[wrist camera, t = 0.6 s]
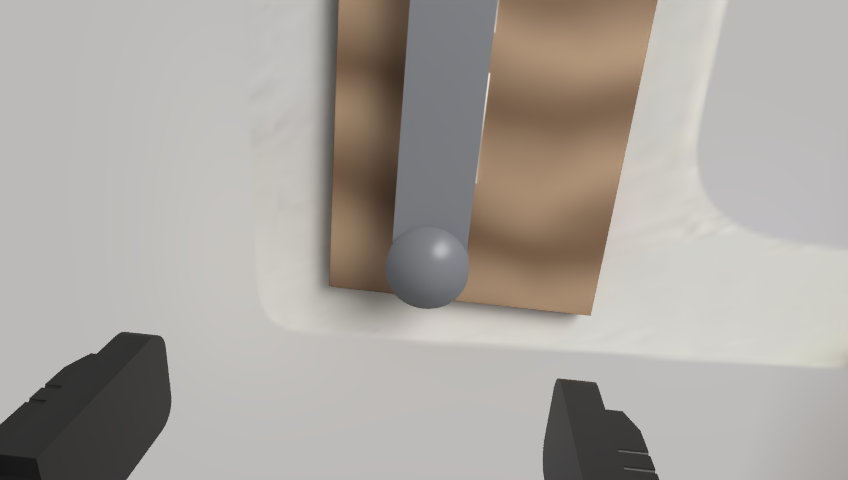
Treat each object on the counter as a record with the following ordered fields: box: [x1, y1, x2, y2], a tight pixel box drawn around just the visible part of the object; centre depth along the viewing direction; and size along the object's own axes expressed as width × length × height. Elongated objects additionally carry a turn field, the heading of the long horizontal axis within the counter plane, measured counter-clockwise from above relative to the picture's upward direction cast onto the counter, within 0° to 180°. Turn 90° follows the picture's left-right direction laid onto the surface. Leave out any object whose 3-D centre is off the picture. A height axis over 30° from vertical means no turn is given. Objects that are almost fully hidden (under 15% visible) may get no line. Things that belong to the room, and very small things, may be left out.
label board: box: [329, 0, 657, 316], centre depth 32 cm, size 25×16×2 cm, turn 175°
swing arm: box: [385, 0, 498, 309], centre depth 29 cm, size 24×5×4 cm, turn 175°
